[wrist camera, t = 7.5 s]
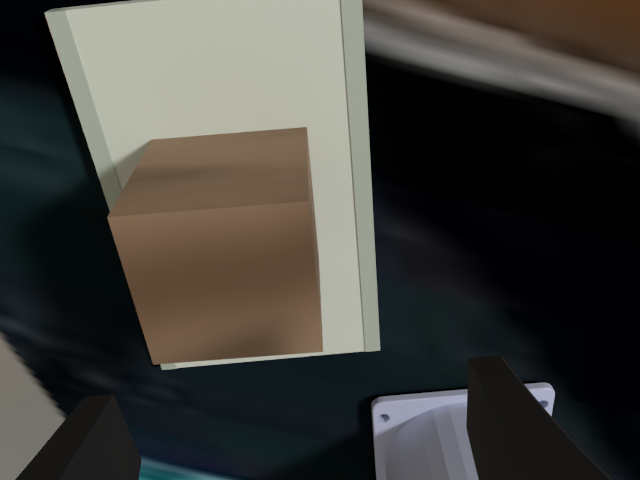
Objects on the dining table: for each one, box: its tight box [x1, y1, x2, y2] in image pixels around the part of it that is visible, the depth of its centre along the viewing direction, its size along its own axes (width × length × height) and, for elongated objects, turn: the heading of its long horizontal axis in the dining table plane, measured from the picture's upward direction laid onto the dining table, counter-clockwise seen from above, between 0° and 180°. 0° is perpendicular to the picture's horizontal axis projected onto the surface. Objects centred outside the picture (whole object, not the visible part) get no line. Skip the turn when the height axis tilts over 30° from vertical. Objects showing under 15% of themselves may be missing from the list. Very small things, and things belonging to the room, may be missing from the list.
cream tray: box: [45, 0, 380, 370], centre depth 20 cm, size 14×9×1 cm, turn 6°
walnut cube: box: [107, 127, 323, 365], centre depth 18 cm, size 5×5×5 cm
